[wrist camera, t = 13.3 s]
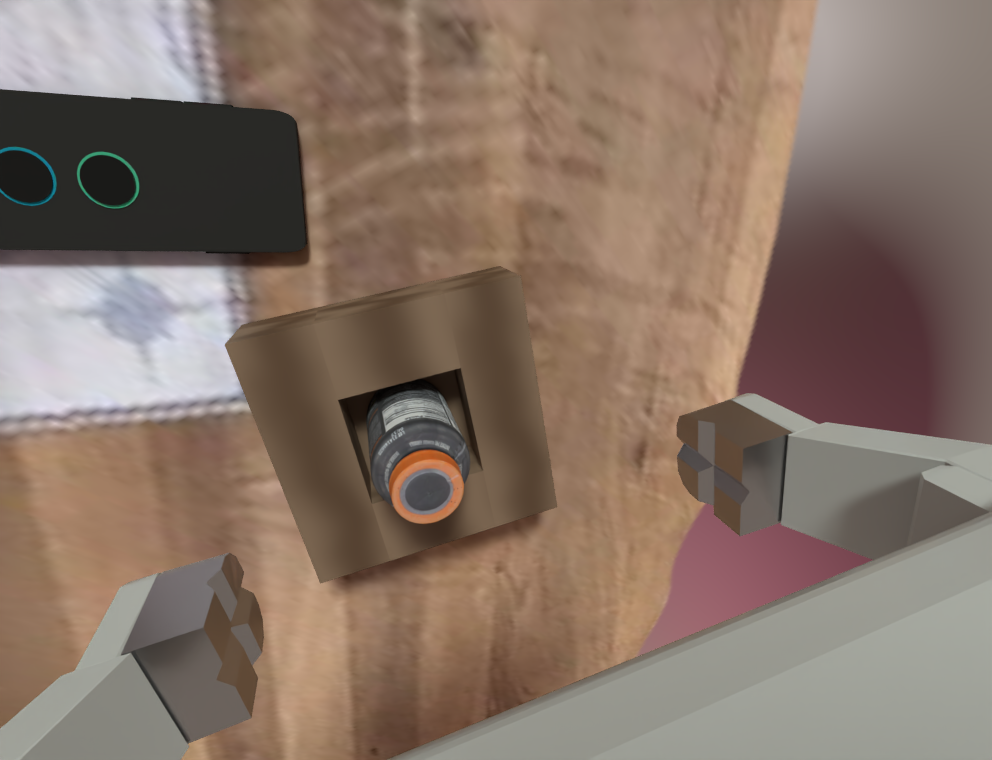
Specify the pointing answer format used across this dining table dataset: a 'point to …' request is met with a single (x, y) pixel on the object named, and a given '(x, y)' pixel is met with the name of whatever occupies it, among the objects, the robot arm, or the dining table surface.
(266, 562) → the dining table surface
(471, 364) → the walnut holder
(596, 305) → the dining table surface
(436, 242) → the dining table surface
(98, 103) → the smart home device
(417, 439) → the pill bottle
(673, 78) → the dining table surface
